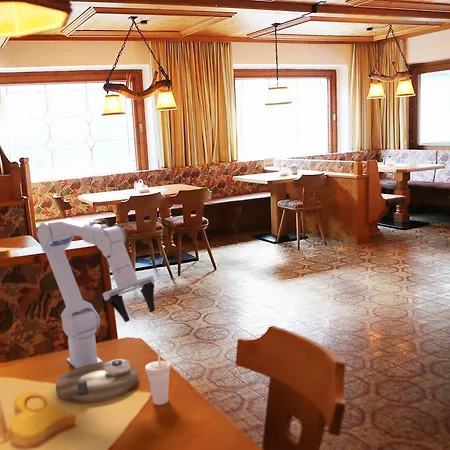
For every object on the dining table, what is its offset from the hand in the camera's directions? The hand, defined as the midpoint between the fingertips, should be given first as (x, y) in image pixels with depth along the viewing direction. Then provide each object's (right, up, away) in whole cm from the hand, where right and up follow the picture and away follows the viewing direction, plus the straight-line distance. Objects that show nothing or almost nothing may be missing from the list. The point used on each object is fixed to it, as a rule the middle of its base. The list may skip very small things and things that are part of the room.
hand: (140, 316), depth 158 cm
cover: (-7, -17, +7) cm, 19 cm away
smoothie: (+6, -21, -8) cm, 23 cm away
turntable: (-12, -20, +4) cm, 23 cm away
